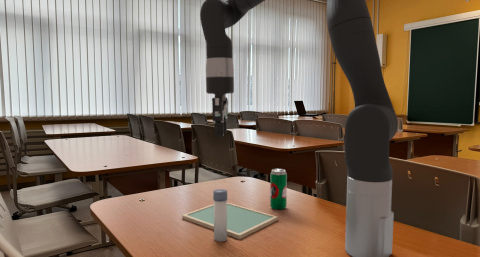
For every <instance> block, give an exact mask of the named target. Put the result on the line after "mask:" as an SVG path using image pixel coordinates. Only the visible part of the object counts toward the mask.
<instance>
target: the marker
mask: <svg viewBox="0 0 480 257" xmlns="http://www.w3.org/2000/svg"><path fill="white" fill-rule="evenodd" d="M212 194H213V196H212V197H213V198H212V200H213V204H214V230H213V236H214V237H213V238H214V239H213V240H214V241H216V242H222V243H223V242H225V241H227V240H228V235H227V203H228V190H227V189H224V188H222V189H221V188H219V189H214V190H212Z"/></svg>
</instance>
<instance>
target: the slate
mask: <svg viewBox="0 0 480 257" xmlns="http://www.w3.org/2000/svg"><path fill="white" fill-rule="evenodd" d="M181 218H182V219H183V220H186V221H187V222H190V223H194V224H196V225H199V226H201V227H204V228H206V229H207V228H208V229H210V230H213V231H214V203H213V204H210V205H207V206H204V207H201V208H198V209H196V210H192V211H189V212H187V213H185V214H182V215H181ZM277 221H279V216H277V215H273V214H270V213H265V212H264V211H263V212H262V211H259V210H255V209H252V208H249V207H245V206H241V205H238V204H234V203H230V202H227V236H229V237H233V238H235V239H238V240H242V239H243V238H246V237H247V236H249V235H251V234H253V233H255V232H257V231H259V230H261V229H263V228H265V227H268V226H269V225H271V224H273V223H275V222H277Z"/></svg>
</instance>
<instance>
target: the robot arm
mask: <svg viewBox="0 0 480 257" xmlns="http://www.w3.org/2000/svg"><path fill="white" fill-rule="evenodd" d="M265 1H266V0H204V1H203V2H202V4H201V7H200V11H199V12H200V13H199V17H200V25H201V29H202V32H203V37H204V41H205V48H206V49H205V51H206V53H205V55H206V60H205V61H206V63H205V85H206V86H205V87H206V90H205V91H206V94H208V95H209V94H211V95H214V97H212V98H211V101H212V102H211V105H212V106H211V107H212V118H211V120H212V122H213V124H214V137H215V138H223V137H224V135H226V134H227V133H228V129H227V127H228V126H227V124H228V123H227V121H228V118H229V99H228V97H226V95H227V94H228V95H229V94H233V93H234V92H235V80H234V78H235V76H234V74H235V73H234V70H235V68H234V61H233V41H232V39H231V38H230V37H229V36H228V35H227V33H226V29H228V28H232V27H233V26H234V25H236V24H237V23H238V22H239V21H240V20H242V18H244V16H245V15H246V14H247V13H248V12H249V11H250V10H252V9H254V8H255V7H257V6H258V5H260V4H262V3H264V2H265ZM326 25H327V32H328V35H329V40H330V44H331V49H332V51H333V54H334V56H335V58H336V61H337V63H338V64H339V67H340V68H341V71H342V72H343V74H344V76H345V77H346V79H347V81H348V84H349V86H350V88H351V92H352V95H353V96H352V97H353V100H354V102H353V103H354V108H352V110H351V111H349V113H348V115H347V116H346V119H345V125H344V162H345V166H346V168H347V170H346V171H347V174H346V175H347V176H346V178H347V179H346V183H347V184H346V209H345V214H346V215H345V236H344V238H345V240H344V243H345V246H344V250H345V252H346V254H348V255H350V256H351V257H390V256H391V255H392V253H393V237H394V236H393V235H394V219H395V218H394V215H395V213H394V211H392V191H393V190H392V189H393V172H394V171H393V170H394V169H393V166H392V165H391V163H390V141H391V140H392V139H393V138H395V135H396V133H397V130H398V127H399V120H398V116H397V113H396V111H395V108H394V105H393V103H392V100H391V97H390V94H389V92H388V89H387V86H386V83H385V80H384V75H383V69H382V65H381V64H382V63H381V59H380V54H379V49H378V44H377V40H376V34H375V30H374V27H373V23H372V18H371V13H370V11H369V7H368V5H367V1H366V0H326Z"/></svg>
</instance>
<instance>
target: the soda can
mask: <svg viewBox="0 0 480 257" xmlns="http://www.w3.org/2000/svg"><path fill="white" fill-rule="evenodd" d="M269 176H270V177H269V178H270V183H269V184H270V185H269V187H270V188H269V193H270V194H269V206H270V207H271V209H273V210H277V211H283V210H285V209H286V208H287V206H288V205H287V196H288V195H287V193H288V192H287V191H288V190H287V189H288V188H287V186H288V185H287V184H288V182H287V180H288V174H287V171H286V169H283V168H272V169H271V172H270V175H269Z"/></svg>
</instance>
